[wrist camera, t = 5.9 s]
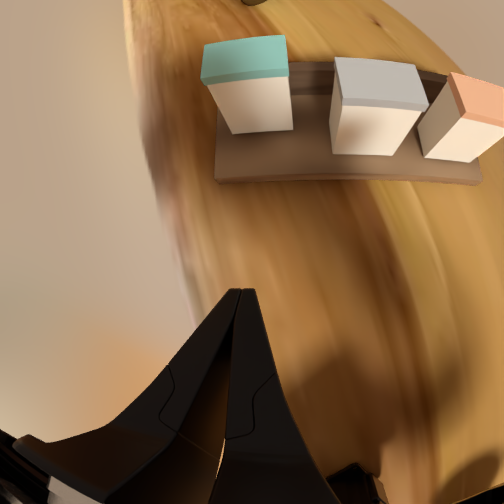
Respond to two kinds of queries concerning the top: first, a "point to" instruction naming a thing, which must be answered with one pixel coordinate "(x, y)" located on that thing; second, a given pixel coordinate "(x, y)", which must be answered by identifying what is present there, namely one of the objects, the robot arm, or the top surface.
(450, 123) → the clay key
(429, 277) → the top surface
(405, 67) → the grey key
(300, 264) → the top surface
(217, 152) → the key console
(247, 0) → the kendama
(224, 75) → the teal key
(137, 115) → the top surface
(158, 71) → the top surface
